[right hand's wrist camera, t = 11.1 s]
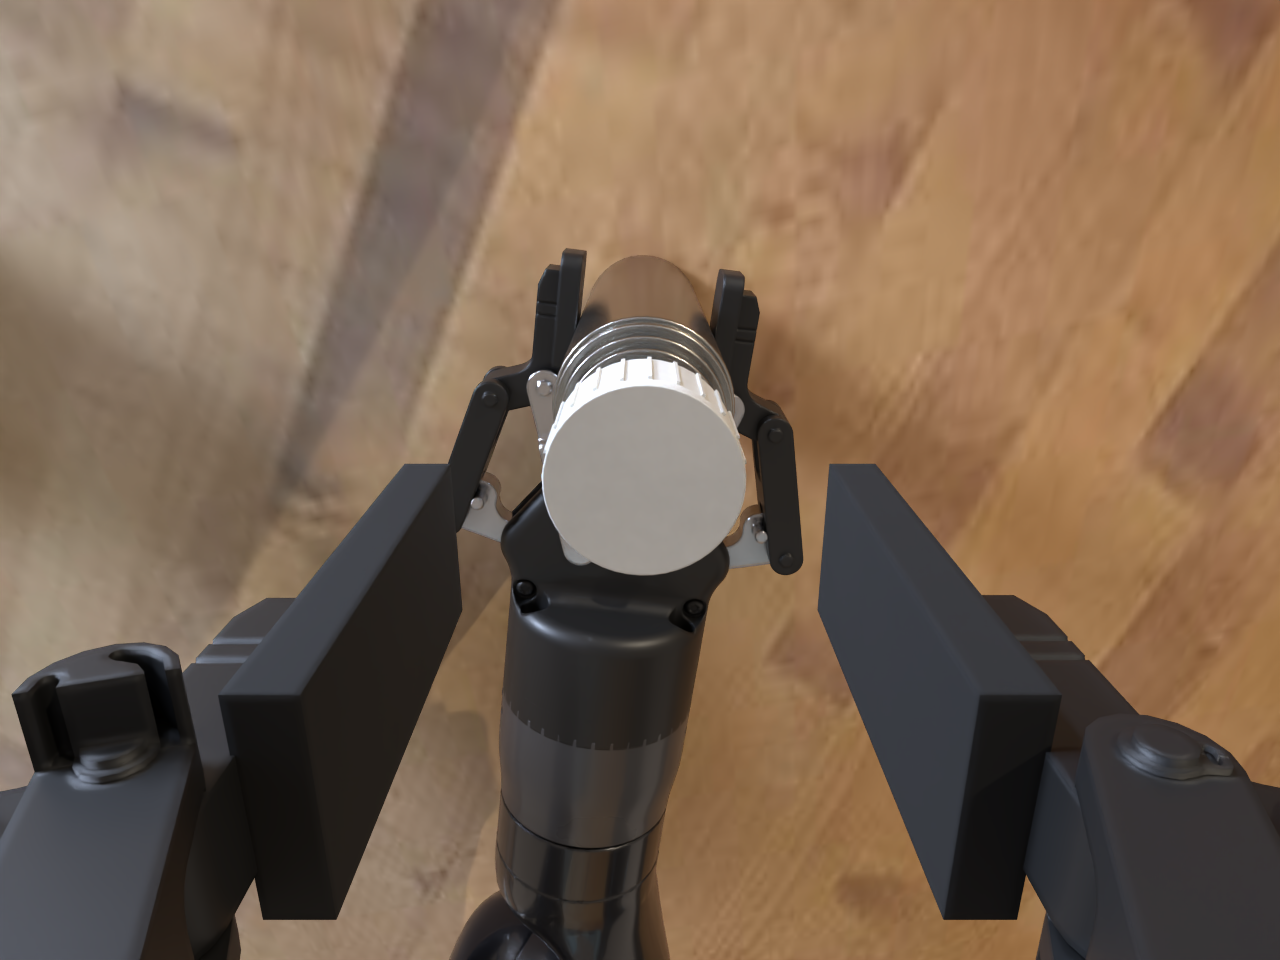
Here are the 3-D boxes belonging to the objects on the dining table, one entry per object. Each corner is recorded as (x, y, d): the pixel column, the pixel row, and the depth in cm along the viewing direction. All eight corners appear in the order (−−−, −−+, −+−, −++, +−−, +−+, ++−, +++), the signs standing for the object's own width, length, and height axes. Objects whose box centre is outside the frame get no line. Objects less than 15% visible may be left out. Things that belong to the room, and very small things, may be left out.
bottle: (712, 344, 36) (790, 541, 17) (611, 381, 36) (578, 610, 17) (676, 238, 34) (719, 326, 15) (571, 278, 35) (488, 409, 16)
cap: (760, 498, 19) (775, 541, 16) (591, 554, 19) (584, 603, 17) (702, 328, 17) (710, 351, 15) (521, 393, 18) (505, 425, 16)
